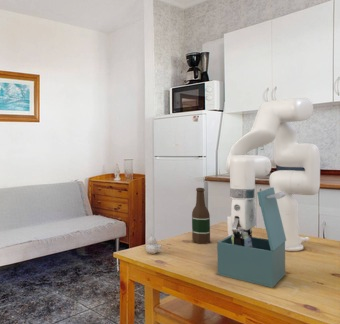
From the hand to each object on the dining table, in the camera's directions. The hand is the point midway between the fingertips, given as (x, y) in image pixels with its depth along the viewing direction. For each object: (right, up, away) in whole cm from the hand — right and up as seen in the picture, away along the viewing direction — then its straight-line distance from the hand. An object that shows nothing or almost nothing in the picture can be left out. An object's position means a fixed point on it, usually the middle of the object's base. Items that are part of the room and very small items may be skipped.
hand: (243, 247), depth 112 cm
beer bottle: (-1, -7, +39) cm, 39 cm away
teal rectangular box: (+2, -9, -1) cm, 9 cm away
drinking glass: (+6, -8, +18) cm, 21 cm away
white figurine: (-25, -9, +24) cm, 36 cm away
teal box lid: (+6, +11, -6) cm, 14 cm away
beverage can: (0, -7, 0) cm, 7 cm away
